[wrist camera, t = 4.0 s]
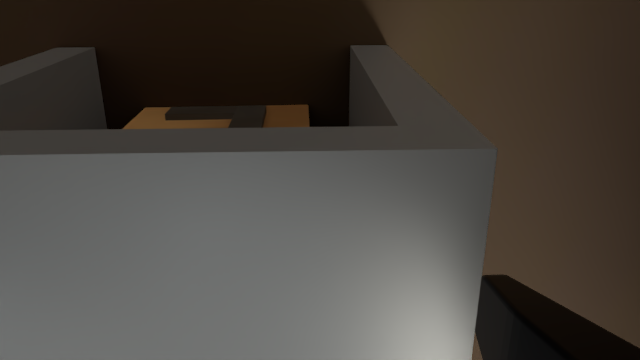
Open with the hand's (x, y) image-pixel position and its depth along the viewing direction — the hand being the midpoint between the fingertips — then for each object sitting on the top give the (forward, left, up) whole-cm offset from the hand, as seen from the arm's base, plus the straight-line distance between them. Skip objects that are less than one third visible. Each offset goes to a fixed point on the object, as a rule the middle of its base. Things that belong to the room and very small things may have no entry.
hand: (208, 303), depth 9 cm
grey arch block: (0, 0, -4) cm, 4 cm away
